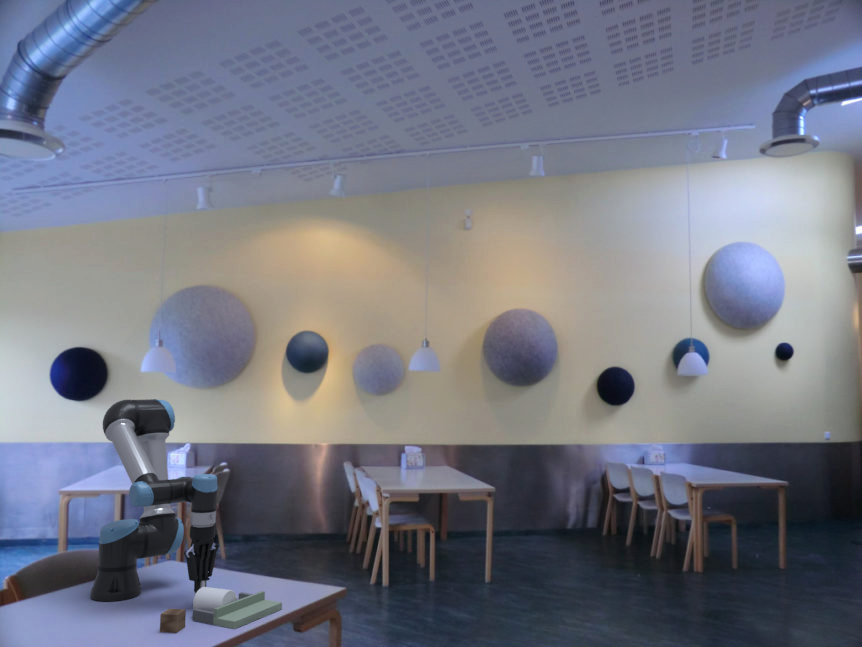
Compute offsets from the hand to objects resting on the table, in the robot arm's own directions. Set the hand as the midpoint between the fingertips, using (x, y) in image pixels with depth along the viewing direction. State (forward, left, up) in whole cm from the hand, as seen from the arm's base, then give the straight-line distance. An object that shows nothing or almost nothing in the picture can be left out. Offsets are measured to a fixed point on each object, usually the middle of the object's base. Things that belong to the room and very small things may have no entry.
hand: (199, 602), depth 224 cm
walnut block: (+9, -19, -2) cm, 21 cm away
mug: (+10, -3, -2) cm, 11 cm away
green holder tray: (+16, 0, -1) cm, 16 cm away
